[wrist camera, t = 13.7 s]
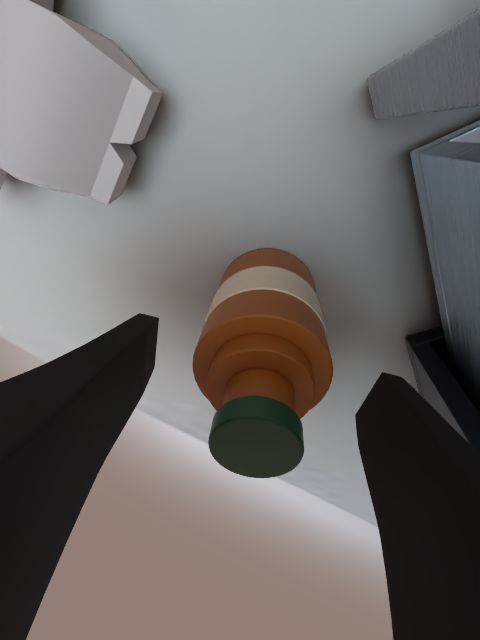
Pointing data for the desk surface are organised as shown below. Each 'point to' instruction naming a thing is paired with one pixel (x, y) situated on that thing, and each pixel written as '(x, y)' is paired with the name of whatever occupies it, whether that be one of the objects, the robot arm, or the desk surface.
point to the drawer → (446, 179)
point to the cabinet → (442, 384)
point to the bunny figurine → (68, 103)
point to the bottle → (262, 362)
